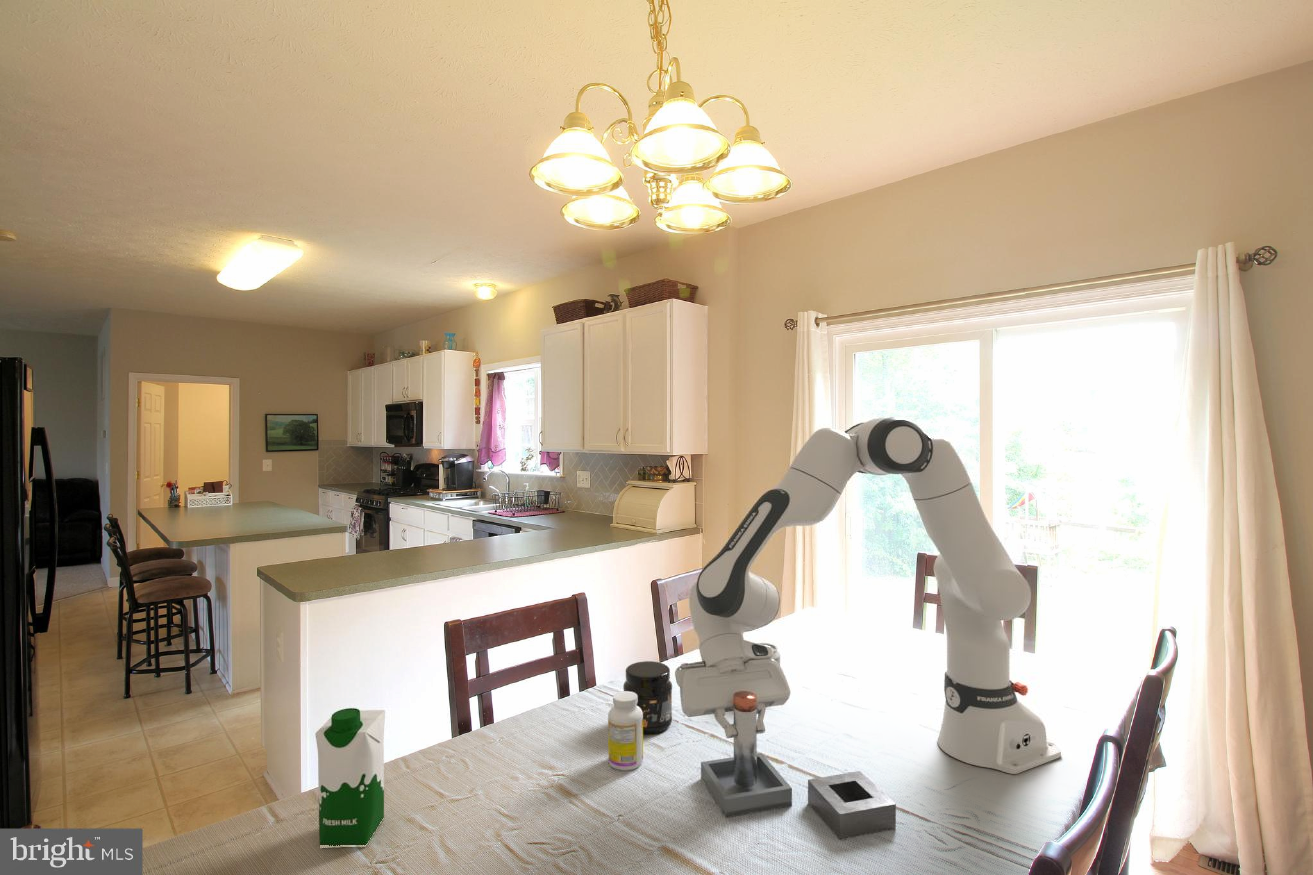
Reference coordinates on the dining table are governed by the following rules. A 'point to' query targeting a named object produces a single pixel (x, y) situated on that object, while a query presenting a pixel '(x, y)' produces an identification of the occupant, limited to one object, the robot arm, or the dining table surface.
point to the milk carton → (350, 776)
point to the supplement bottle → (625, 732)
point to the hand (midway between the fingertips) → (746, 734)
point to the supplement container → (651, 693)
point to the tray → (745, 800)
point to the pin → (745, 738)
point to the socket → (851, 805)
